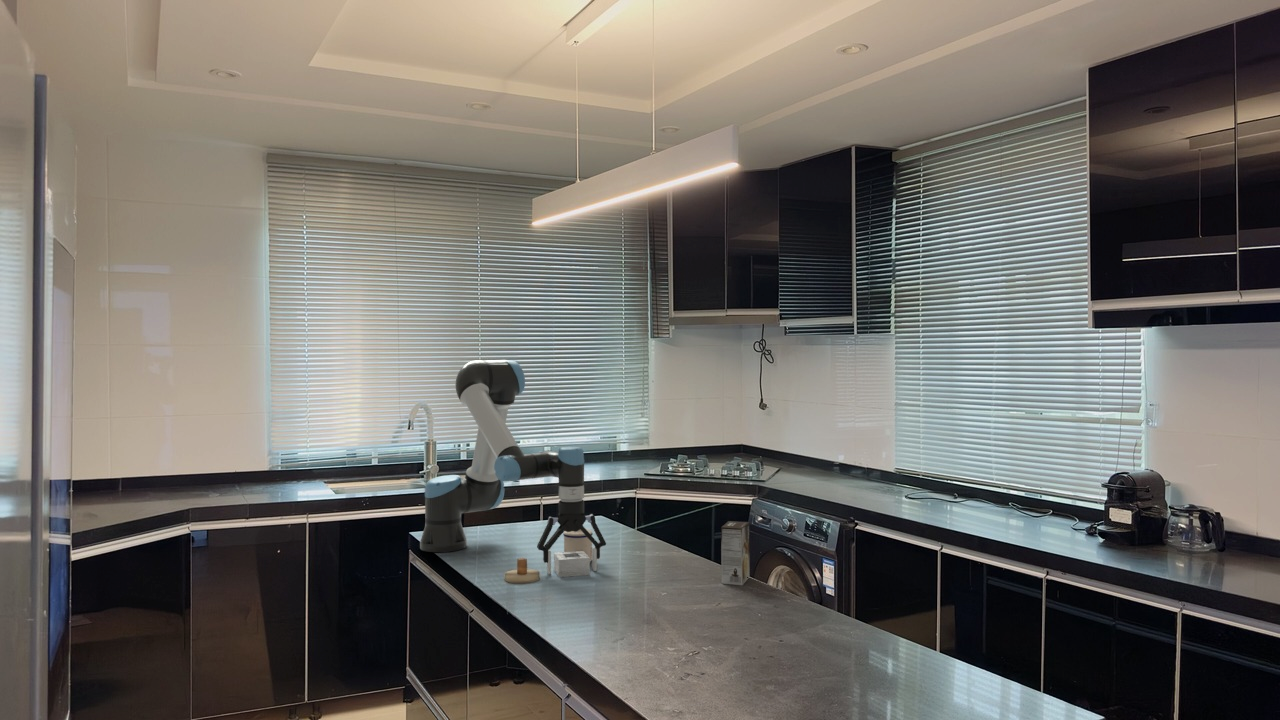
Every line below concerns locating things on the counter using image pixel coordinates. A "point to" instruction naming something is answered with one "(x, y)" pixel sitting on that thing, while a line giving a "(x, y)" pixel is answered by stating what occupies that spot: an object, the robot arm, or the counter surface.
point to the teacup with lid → (578, 542)
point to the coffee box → (735, 552)
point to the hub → (522, 573)
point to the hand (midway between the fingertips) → (571, 571)
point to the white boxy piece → (571, 563)
